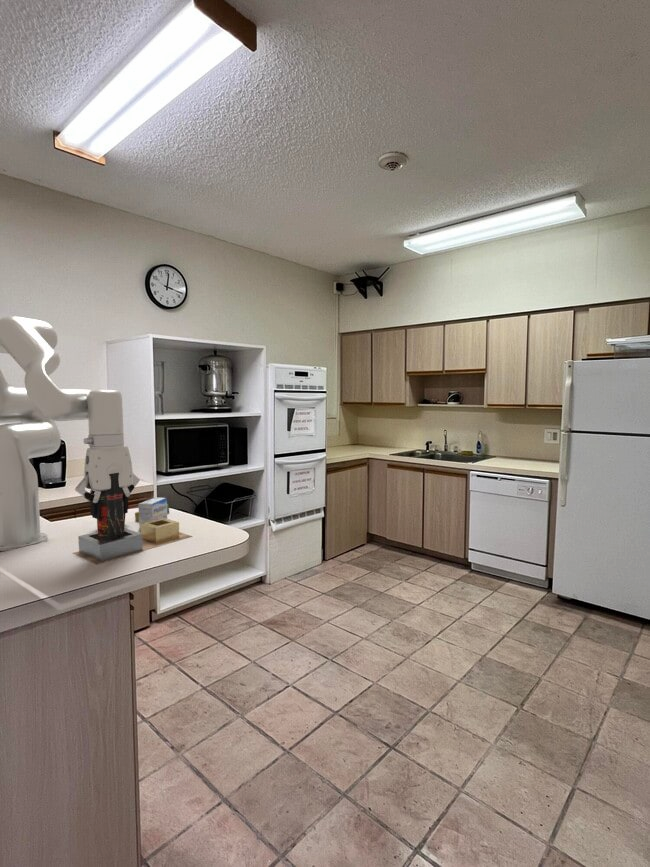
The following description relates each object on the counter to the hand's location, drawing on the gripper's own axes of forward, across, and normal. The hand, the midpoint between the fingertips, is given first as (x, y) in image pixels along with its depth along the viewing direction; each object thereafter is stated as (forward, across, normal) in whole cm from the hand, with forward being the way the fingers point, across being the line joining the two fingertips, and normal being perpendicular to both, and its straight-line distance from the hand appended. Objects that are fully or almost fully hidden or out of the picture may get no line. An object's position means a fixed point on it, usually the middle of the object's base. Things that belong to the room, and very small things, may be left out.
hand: (110, 514), depth 113 cm
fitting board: (+10, +6, 0) cm, 12 cm away
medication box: (+10, +24, +21) cm, 33 cm away
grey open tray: (+9, 0, 0) cm, 9 cm away
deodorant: (+5, 0, 0) cm, 5 cm away
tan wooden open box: (+9, +13, 0) cm, 16 cm away
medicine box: (+10, +18, +11) cm, 24 cm away
